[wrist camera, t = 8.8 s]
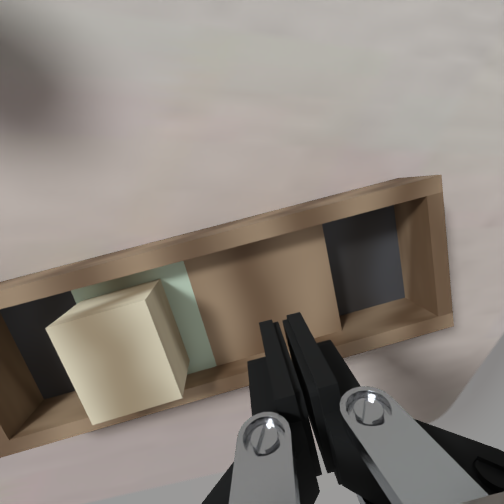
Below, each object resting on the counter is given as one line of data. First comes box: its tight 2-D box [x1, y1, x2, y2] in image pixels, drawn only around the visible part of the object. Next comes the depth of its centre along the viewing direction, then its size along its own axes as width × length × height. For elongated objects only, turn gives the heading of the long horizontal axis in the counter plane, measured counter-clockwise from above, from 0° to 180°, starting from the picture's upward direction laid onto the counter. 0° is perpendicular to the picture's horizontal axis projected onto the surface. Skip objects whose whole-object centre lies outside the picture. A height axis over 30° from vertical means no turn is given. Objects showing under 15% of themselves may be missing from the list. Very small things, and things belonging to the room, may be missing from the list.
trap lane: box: [0, 175, 454, 458], centre depth 18 cm, size 30×10×4 cm, turn 104°
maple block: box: [45, 279, 190, 425], centre depth 16 cm, size 5×6×4 cm
